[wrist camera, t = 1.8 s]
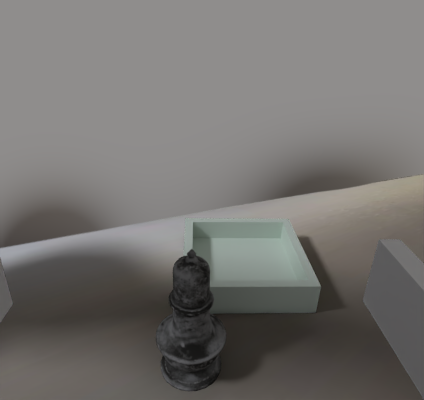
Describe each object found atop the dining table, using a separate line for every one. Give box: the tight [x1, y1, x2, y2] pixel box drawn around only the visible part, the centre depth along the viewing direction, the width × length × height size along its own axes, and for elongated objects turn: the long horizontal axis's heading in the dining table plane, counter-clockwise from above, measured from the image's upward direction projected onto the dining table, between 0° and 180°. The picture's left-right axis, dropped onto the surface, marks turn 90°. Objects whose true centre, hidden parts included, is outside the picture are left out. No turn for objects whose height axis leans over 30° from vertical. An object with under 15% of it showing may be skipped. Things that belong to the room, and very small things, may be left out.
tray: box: [183, 218, 321, 314], centre depth 42 cm, size 14×14×4 cm
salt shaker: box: [156, 249, 226, 391], centre depth 29 cm, size 6×6×12 cm
